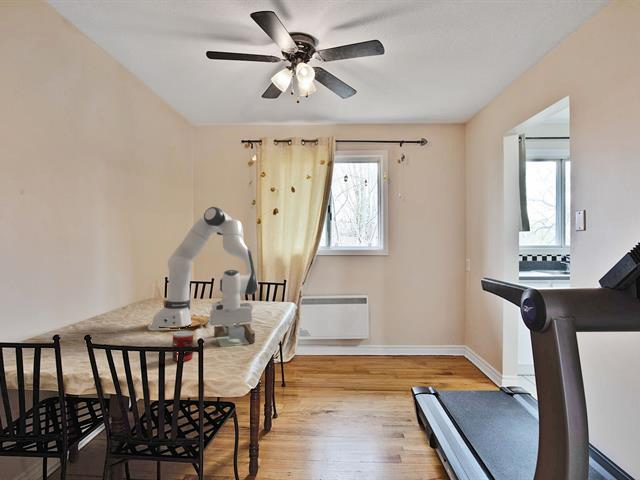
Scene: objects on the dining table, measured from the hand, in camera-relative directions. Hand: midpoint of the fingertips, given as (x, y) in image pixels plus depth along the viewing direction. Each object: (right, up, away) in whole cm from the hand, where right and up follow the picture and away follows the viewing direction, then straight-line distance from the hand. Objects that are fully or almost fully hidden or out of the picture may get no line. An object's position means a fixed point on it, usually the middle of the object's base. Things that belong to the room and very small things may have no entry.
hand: (230, 332), depth 176 cm
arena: (+1, -4, +3) cm, 5 cm away
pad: (+1, -4, +1) cm, 4 cm away
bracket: (+2, -2, +1) cm, 3 cm away
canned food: (-14, -5, -25) cm, 29 cm away
